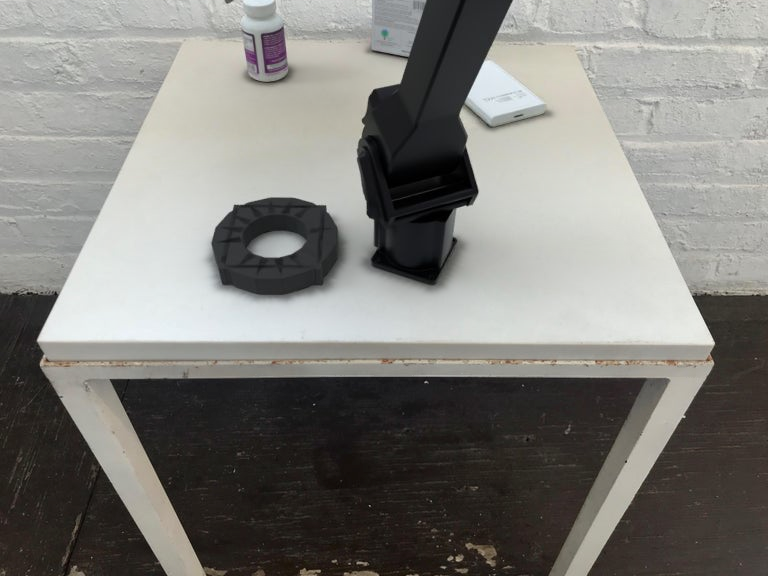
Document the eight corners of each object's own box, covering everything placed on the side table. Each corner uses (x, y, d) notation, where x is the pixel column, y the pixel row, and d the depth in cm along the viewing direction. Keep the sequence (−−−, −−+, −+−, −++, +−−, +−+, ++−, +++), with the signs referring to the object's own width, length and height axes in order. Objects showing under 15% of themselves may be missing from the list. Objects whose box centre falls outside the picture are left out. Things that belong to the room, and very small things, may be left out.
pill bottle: (290, 64, 85) (283, -9, 78) (286, 83, 81) (278, 8, 74) (251, 63, 85) (240, -10, 78) (245, 82, 81) (233, 7, 74)
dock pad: (339, 213, 63) (339, 197, 61) (335, 294, 55) (334, 278, 53) (226, 212, 63) (223, 196, 61) (206, 294, 55) (201, 278, 53)
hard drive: (490, 70, 85) (545, 113, 77) (438, 82, 82) (489, 128, 75) (492, 59, 84) (547, 101, 76) (439, 70, 81) (491, 116, 73)
